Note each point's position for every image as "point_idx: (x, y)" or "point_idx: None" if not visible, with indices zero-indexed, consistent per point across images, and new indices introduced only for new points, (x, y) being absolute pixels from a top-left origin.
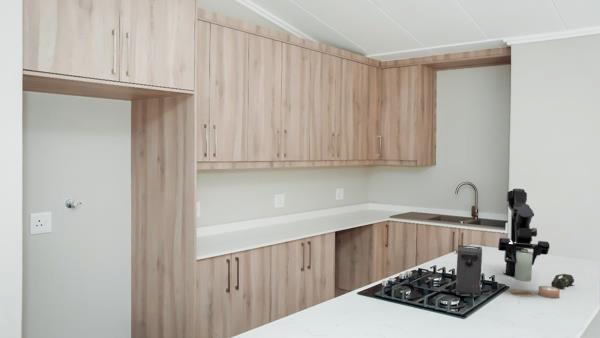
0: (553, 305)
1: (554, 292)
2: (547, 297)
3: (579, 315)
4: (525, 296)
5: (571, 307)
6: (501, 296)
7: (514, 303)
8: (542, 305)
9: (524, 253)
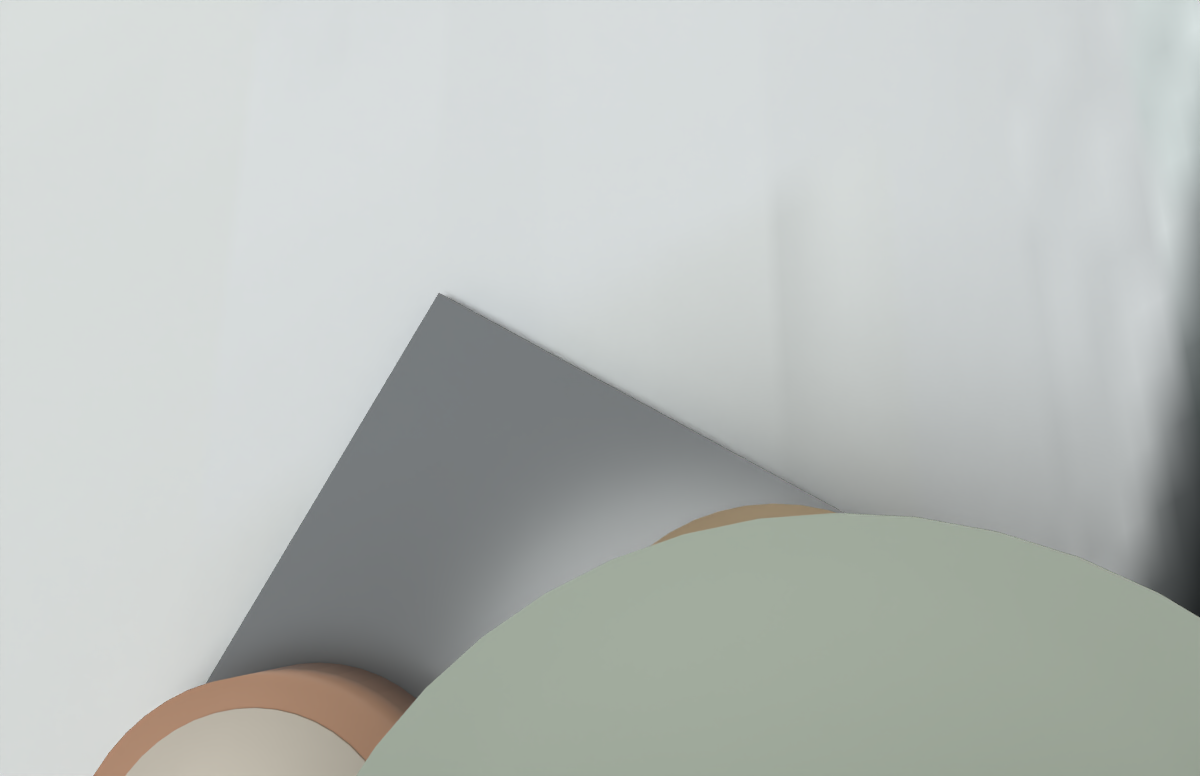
0: (292, 383)
1: (183, 694)
2: (338, 664)
3: (27, 101)
4: (692, 523)
5: (60, 423)
6: (1089, 451)
7: (844, 160)
8: (446, 292)
9: (844, 680)
